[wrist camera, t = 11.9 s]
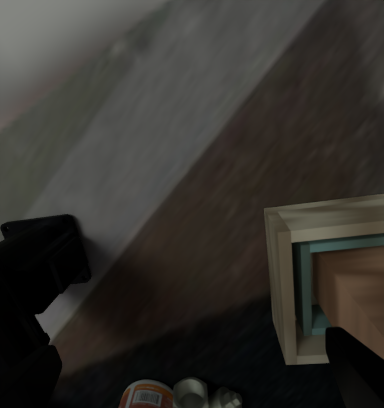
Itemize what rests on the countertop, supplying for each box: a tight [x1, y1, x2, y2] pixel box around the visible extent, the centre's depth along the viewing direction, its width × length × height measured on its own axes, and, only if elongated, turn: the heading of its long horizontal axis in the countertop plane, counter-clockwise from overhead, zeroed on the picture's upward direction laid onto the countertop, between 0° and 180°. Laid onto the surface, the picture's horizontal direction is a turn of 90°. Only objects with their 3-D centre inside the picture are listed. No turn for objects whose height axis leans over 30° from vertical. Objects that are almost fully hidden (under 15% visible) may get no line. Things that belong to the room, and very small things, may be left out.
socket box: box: [264, 194, 384, 365], centre depth 19 cm, size 11×11×4 cm
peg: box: [312, 245, 384, 359], centre depth 16 cm, size 4×4×9 cm
